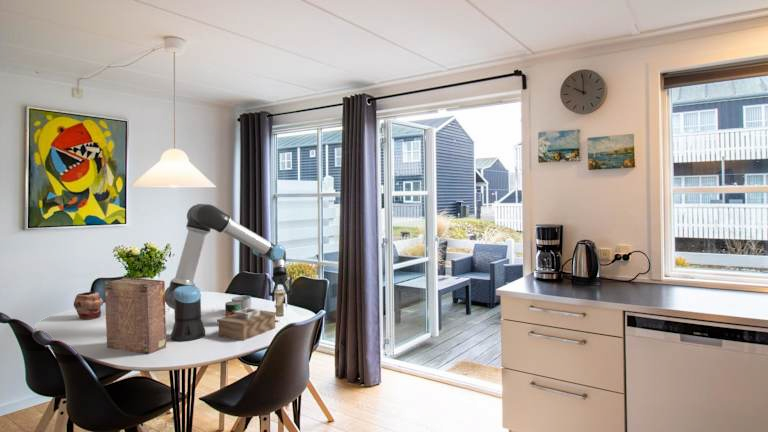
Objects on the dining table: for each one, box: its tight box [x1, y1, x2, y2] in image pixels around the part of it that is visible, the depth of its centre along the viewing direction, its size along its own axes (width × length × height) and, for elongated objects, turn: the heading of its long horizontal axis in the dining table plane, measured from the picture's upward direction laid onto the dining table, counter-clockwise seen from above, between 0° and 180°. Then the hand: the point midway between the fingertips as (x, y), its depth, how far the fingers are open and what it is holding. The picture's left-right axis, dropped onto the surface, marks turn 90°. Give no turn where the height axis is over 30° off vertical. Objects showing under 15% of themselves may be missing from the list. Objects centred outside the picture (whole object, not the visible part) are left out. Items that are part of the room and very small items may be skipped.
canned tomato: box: [224, 300, 241, 317], centre depth 244 cm, size 8×8×11 cm
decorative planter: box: [73, 291, 104, 320], centre depth 257 cm, size 20×12×14 cm, turn 72°
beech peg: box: [274, 289, 286, 318], centre depth 248 cm, size 6×6×14 cm
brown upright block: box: [104, 277, 167, 355], centre depth 206 cm, size 25×9×30 cm, turn 69°
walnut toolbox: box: [216, 308, 276, 341], centre depth 229 cm, size 23×17×10 cm
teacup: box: [231, 295, 252, 310], centre depth 272 cm, size 14×11×8 cm
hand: (280, 305), depth 244 cm, fingers closed on beech peg, 5 cm apart
